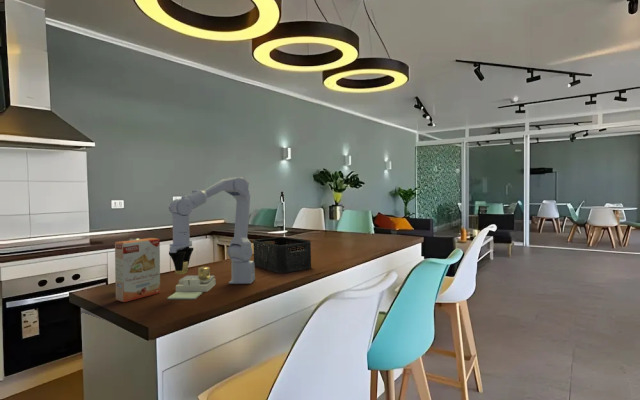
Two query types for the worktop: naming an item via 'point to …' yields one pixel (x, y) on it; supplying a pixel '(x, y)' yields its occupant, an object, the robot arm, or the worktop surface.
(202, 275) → the brass weight
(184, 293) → the rubber mat
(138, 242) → the cracker box
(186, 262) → the cylinder
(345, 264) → the worktop surface
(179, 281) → the scale pan
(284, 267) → the storage bin
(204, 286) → the scale
